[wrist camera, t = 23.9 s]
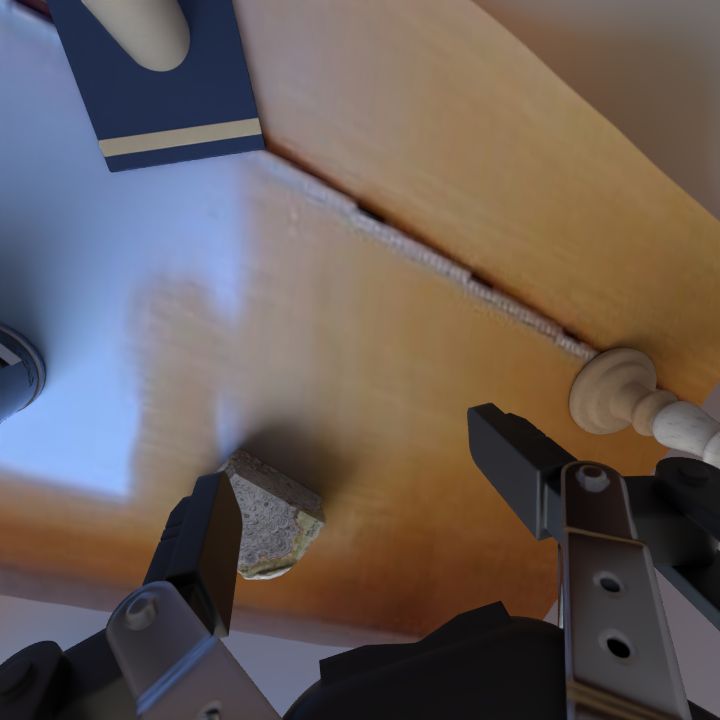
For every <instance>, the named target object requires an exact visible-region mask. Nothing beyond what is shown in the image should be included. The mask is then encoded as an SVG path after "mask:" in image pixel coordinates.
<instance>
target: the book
mask: <svg viewBox="0 0 720 720" xmlns="http://www.w3.org/2000/svg"><path fill="white" fill-rule="evenodd" d="M46 2H47V5H48V7H49V10H50V13H51V15H52V18H53V21H54V23H55V26H56V29H57V32H58V34H59V37H60V40H61V42H62V45H63V48H64V50H65V53H66V56H67V58H68V61H69V64H70V66H71V69H72V72H73V74H74V77H75V80H76V82H77V85H78V88H79V90H80V93H81V96H82V99H83V101H84V104H85V107H86V109H87V112H88V115H89V117H90V120H91V123H92V125H93V128H94V131H95V133H96V136H97V139H98V142H99V145H100V147H101V150H102V153H103V155H104V157H105V160H106V163H107V165H108V168H109V171H110V172H118V171H125V170H131V169H138V168H144V167H151V166H157V165H164V164H170V163H177V162H183V161H190V160H197V159H203V158H210V157H216V156H223V155H229V154H236V153H242V152H249V151H255V150H262V149H265V144H264V140H263V136H262V131H261V127H260V123H259V118H258V114H257V110H256V105H255V101H254V97H253V92H252V88H251V83H250V79H249V75H248V70H247V66H246V62H245V57H244V53H243V49H242V44H241V40H240V36H239V31H238V27H237V22H236V18H235V14H234V9H233V5H232V1H231V0H178V2H179V4H180V6H181V8H182V10H183V13H184V15H185V17H186V19H187V22H188V26H189V31H190V46H189V50H188V53H187V55H186V57H185V59H184V60H183V62H182V63H181V64H180V65H178V66H177V67H176V68H174V69H171V70H168V71H153V70H150V69H147V68H145V67H143V66H141V65H139V64H138V63H136V62H135V61H134V60H133V59H132V58H131V57H130V56H129V55H128V54H127V53H126V52H125V51H124V50H123V49H122V48H121V46H120V45H119V44H118V43H117V42H116V41H115V40H114V39H113V38H112V36H111V35H110V34H109V33H108V32H107V31H106V30H105V29H104V27H103V26H102V25H101V24H100V23H99V22H98V21H97V20H96V19H95V17H94V16H93V15H92V14H91V13H90V12H89V11H88V10H87V8H86V7H85V6H84V5H83V4H82V3H81V2H80V1H79V0H46Z"/></svg>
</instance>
